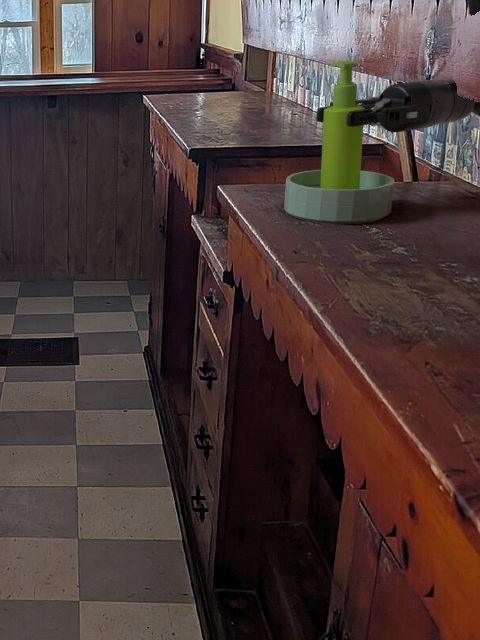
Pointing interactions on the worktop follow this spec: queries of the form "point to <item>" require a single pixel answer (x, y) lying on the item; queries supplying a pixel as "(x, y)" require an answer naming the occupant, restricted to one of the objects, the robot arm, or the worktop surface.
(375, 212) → the bowl
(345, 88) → the soap dispenser
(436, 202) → the worktop surface
